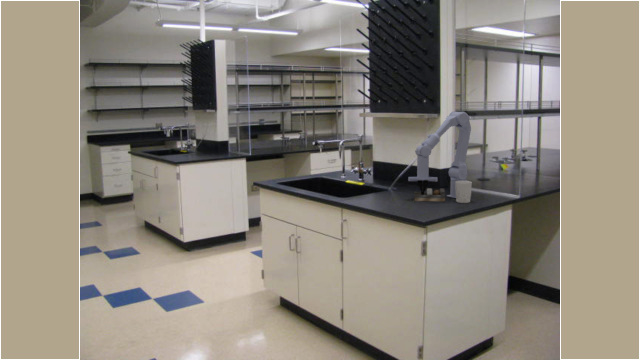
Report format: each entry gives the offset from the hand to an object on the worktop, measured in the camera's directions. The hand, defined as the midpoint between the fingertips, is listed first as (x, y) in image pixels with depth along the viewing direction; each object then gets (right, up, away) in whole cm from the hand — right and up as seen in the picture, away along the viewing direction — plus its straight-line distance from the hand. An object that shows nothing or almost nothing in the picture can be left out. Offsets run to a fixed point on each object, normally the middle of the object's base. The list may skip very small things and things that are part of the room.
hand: (422, 195), depth 261 cm
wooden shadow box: (+3, -2, 0) cm, 4 cm away
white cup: (+19, -3, -8) cm, 20 cm away
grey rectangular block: (+3, 0, -1) cm, 3 cm away
